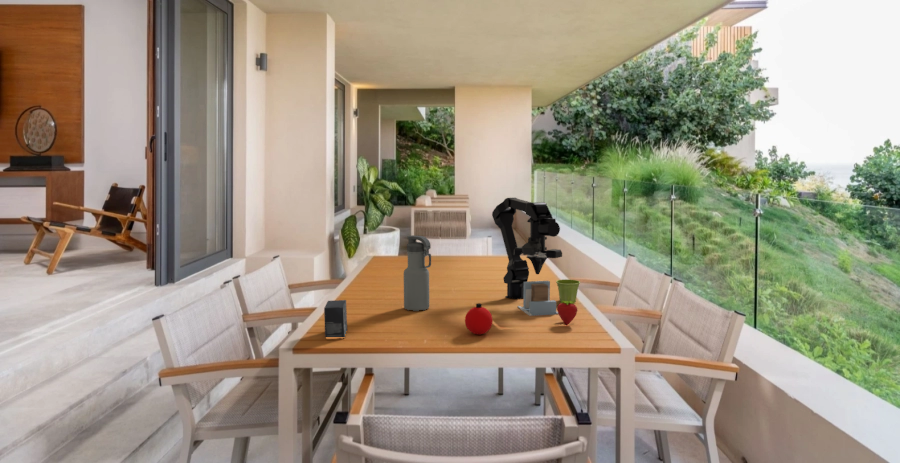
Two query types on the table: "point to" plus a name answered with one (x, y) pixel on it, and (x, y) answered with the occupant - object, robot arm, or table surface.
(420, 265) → the water bottle
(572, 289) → the plant pot
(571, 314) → the strawberry
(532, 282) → the jaw
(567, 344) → the table surface
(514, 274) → the robot arm
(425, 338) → the table surface
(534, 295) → the block
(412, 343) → the table surface
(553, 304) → the fixed jaw
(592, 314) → the table surface
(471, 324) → the ornament
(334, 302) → the small box
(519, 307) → the light blue base plate
